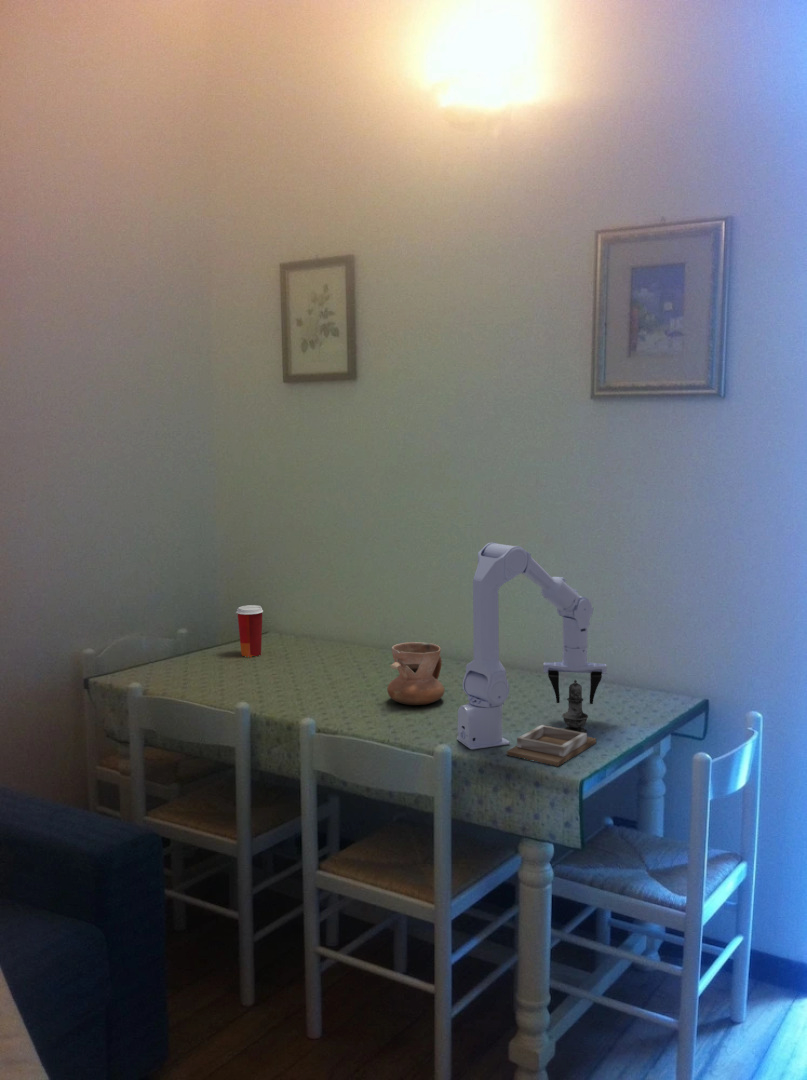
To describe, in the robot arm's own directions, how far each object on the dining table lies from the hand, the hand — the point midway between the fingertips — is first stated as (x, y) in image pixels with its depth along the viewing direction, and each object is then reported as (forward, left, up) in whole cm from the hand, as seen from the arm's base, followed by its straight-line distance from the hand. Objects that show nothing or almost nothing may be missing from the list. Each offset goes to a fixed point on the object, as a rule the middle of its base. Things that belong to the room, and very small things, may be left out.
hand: (574, 702), depth 227 cm
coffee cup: (-57, +97, -5) cm, 113 cm away
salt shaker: (-4, -7, -5) cm, 9 cm away
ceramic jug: (-28, +30, -5) cm, 41 cm away
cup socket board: (-15, -16, -4) cm, 22 cm away
